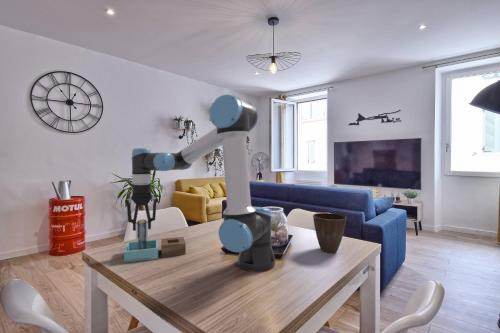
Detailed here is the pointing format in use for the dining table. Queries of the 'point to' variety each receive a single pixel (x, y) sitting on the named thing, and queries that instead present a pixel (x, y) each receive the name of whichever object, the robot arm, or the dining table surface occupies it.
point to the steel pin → (142, 234)
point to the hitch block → (173, 246)
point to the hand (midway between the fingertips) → (142, 237)
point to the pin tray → (141, 251)
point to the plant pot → (329, 230)
